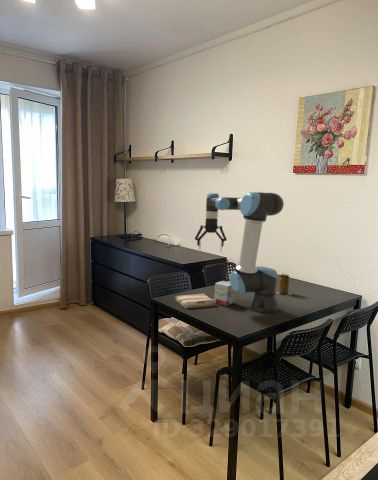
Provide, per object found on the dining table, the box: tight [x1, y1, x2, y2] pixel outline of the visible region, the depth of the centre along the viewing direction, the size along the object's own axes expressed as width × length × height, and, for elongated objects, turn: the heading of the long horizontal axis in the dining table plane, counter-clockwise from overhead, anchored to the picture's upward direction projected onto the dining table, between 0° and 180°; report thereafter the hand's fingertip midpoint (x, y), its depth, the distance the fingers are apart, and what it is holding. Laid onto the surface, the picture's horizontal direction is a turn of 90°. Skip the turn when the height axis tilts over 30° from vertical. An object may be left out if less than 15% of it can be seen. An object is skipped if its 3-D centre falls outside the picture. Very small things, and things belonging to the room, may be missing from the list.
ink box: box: [213, 280, 235, 307], centre depth 213 cm, size 9×9×12 cm
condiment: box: [275, 273, 293, 297], centre depth 236 cm, size 7×8×12 cm
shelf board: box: [174, 293, 217, 309], centre depth 211 cm, size 16×18×3 cm
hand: (210, 251), depth 235 cm, fingers open, 13 cm apart
